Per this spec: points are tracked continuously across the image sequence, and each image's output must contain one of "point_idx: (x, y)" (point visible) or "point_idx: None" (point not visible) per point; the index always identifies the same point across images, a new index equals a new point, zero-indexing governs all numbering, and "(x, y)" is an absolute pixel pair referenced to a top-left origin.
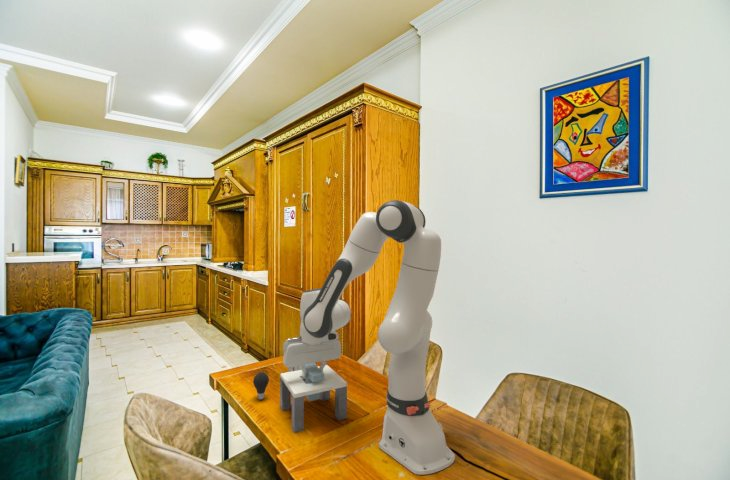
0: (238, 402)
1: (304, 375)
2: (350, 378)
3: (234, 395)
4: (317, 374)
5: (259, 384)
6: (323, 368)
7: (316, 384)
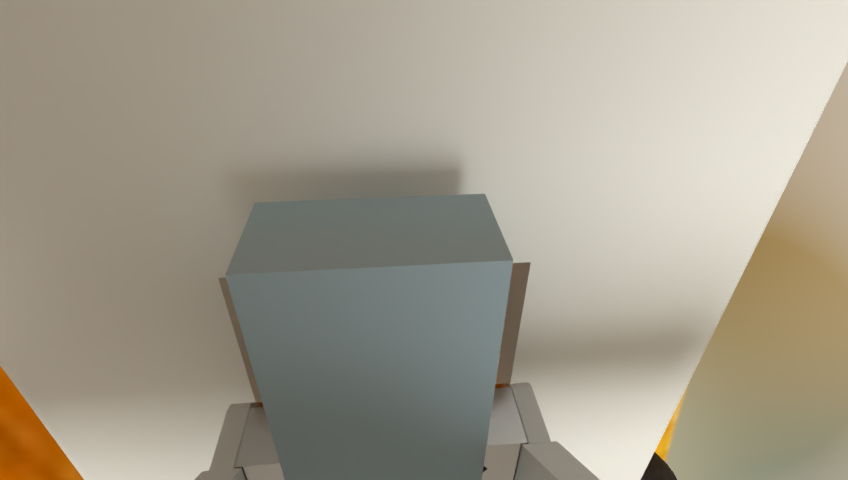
0: (681, 399)
1: (527, 399)
2: (30, 450)
3: (663, 449)
4: (387, 301)
5: (657, 464)
6: (200, 475)
7: (402, 187)
